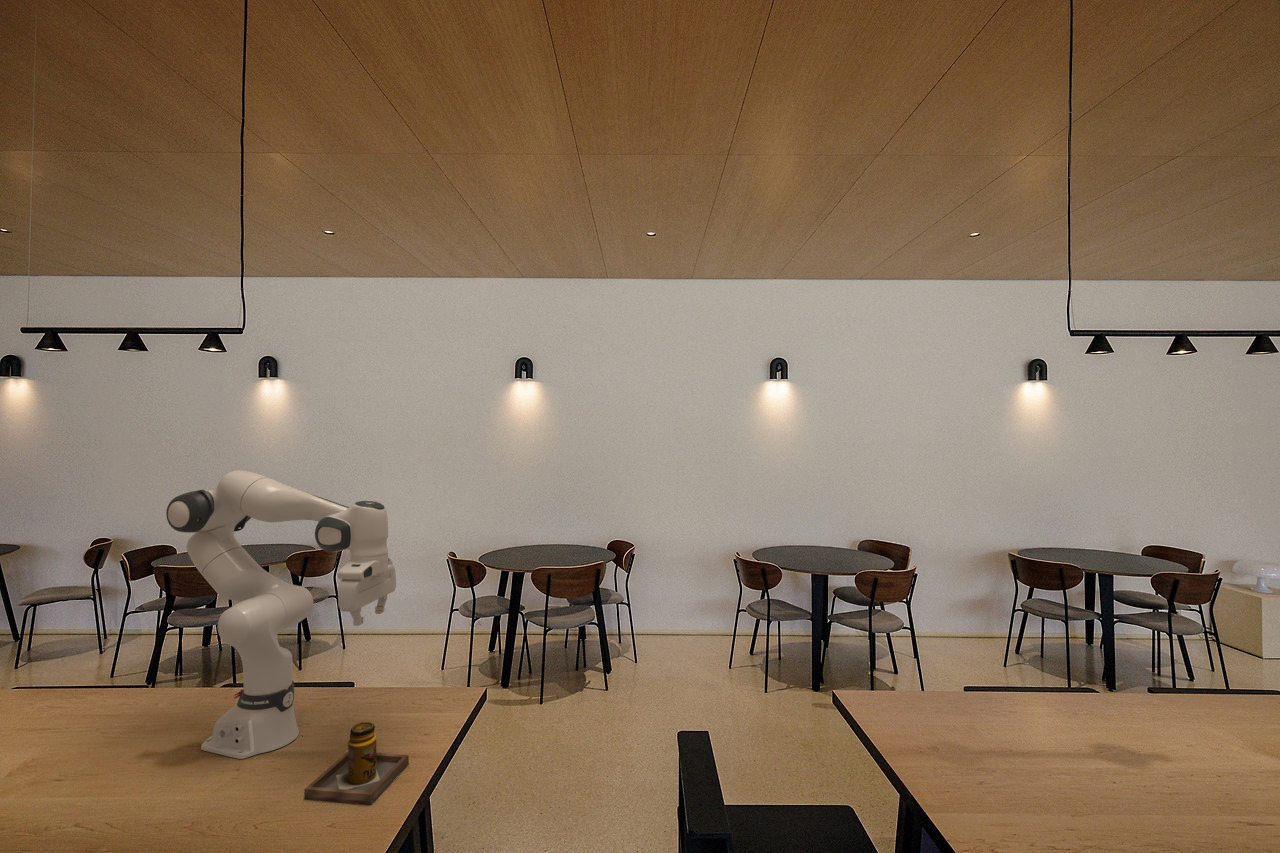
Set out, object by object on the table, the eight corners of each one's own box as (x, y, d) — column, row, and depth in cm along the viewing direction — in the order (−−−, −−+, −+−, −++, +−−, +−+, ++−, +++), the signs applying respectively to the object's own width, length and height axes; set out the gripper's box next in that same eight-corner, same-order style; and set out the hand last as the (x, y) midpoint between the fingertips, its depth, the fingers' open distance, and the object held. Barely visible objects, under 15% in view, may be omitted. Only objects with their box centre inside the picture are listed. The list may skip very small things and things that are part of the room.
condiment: (380, 780, 138) (380, 729, 138) (339, 792, 134) (339, 739, 134) (375, 765, 144) (375, 716, 144) (336, 776, 140) (336, 725, 140)
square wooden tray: (304, 799, 132) (304, 789, 132) (348, 759, 148) (348, 750, 148) (371, 805, 130) (371, 794, 130) (408, 764, 146) (408, 755, 146)
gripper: (380, 556, 163) (380, 606, 163) (333, 573, 143) (332, 631, 142) (402, 556, 162) (402, 607, 162) (357, 574, 142) (357, 632, 142)
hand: (369, 618), depth 152 cm, fingers open, 8 cm apart
